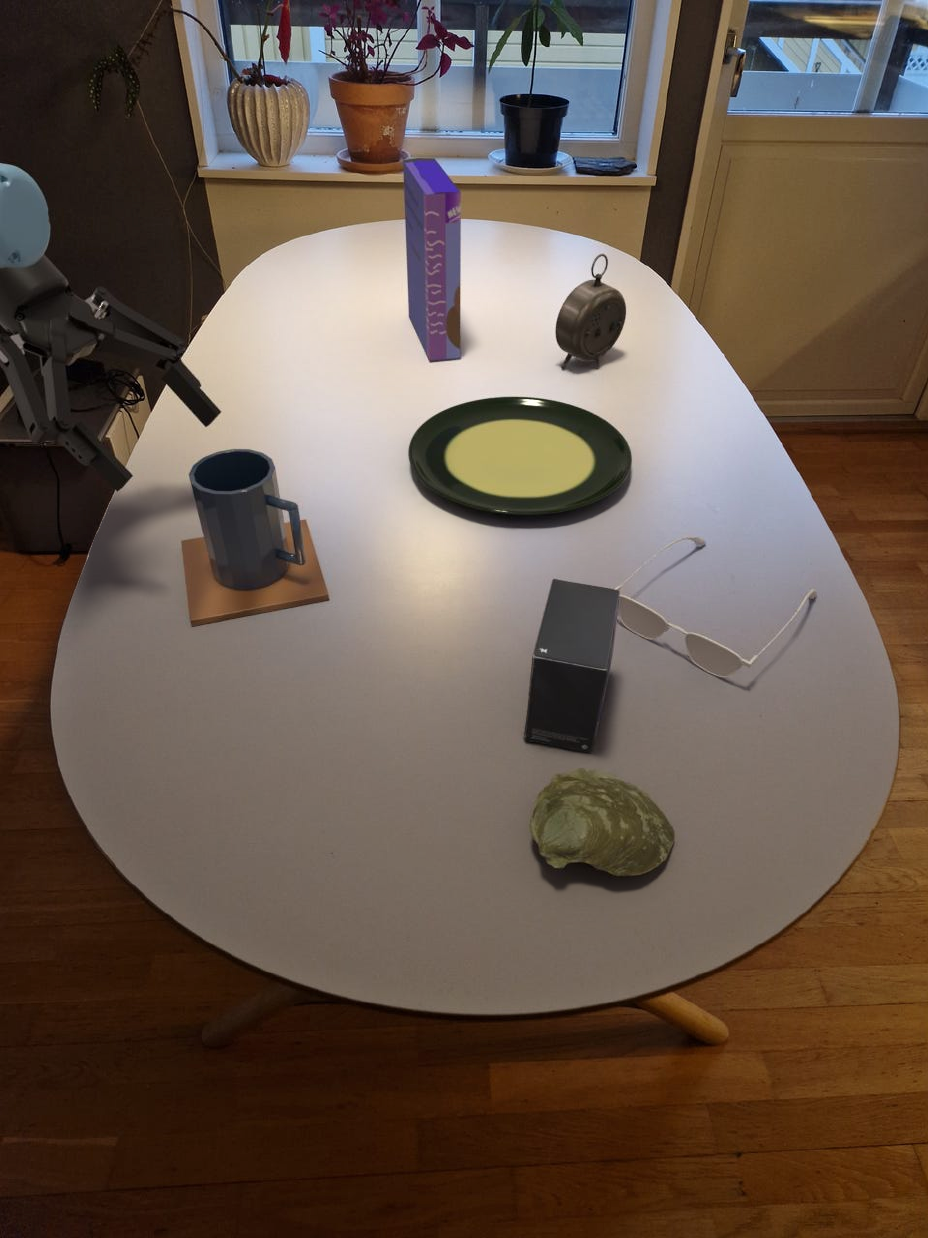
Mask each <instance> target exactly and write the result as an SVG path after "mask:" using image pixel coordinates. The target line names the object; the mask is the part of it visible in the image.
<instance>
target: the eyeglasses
mask: <svg viewBox="0 0 928 1238" xmlns="http://www.w3.org/2000/svg"><path fill="white" fill-rule="evenodd" d="M684 540H690V541H692V542H694V545H695V546H696V548H701V547H703V546H704V545H706V544H707V541H706V539H704V538H702V537H701V536H700V537H699V536H696V535H695V536H693V535H690V536H689V535H688V536H683V537H679V538H678V539H676V540H673V541H672V542H670V543H668V544H667V545H665V546H664V547H662V549H660V550H659V551H658V552H657V553H655V554H653V556H651V557H650V558H649V559H648V560H647V561H646V562H645V563H643V564H642V565H641V566H640V567H639V568H638V569H636V570H635V571H634V573H632V574H631V575H630V576H629V577H628V578H627V579H626V580H625V581H624V582H623V583H622V584H621V585H617V586H616V587H615V588H614V589H615V590H619V591H621V588H622V587H623V586H624V585H625V584H626V583H627V582H628V581H629V580H630V579H632V578H633V576H635V574H637V573H638V572H639V571H640V570H641V569H642V568H644V566H645V565H647V564H648V563H649V562H651V561H652V560H653V559H654V558H655V557H657V556H658V555H659V554H660V553H662V552H663V551H664V550H666V549H668V548H669V547H671V546H672V545H674V544H676V543H678V542H681V541H684ZM817 594H818V591H817V590H816V589H815V588H812V589H810V591H808V593H807V594H806V595H805V597H804V598H803V600H802V602H801V604H799V606H798V607H797V610H796V612H795V613H794V614H793V616H792V617H791V618H790V619H789V620H788V622H787V623H786V624H785V625H784V626H783V628H782V629H781V630H780V631H779V632H778V633H777V634H776V635H775V636H774V637H773V639H772V640H770V642H769V643H767V644H766V646H764V648H763V649H762V650H760V651H759V653H757V655H756V654H754V655H753V656H752V658H751V659H750V660H747V659H745V658H742V657H741V655H740V654H739V653H737V652H735V651H734V650H732V649H731V648H729V647H727V646H725V645H723V644H721V643H719V642H717V641H715V640H713V639H711V638H709V637H706V636H704V635H702V634H699V633H697V632H692V631H689V632H688V631H686V630H685V629H683V628H682V627H680V626H679V625H676V624H673V623H670V622H668V621H667V620H666V618H665V617H664V616H662V615H661V614H660V613H658V612H657V611H655V610H654V609H652V608H651V607H649V606H647V605H645V604H643V603H641V602H639V601H637V600H635V599H633V598H632V597H629V596H627V595H624V594H620V595H619V607H618V617H619V618H620V621H621V623H622V624H623V625H624V627H626V628H627V629H628V630H630V631H631V632H632V633H634V634H635V635H638V636H639V637H642V638H644V639H647V640H650V641H651V640H652V641H653V640H657V639H658V638H660V637H661V636H662V635H663V634H664V633H667V632H668V631H669V629H670V628H673V629H675V630H676V631H678V632H680V633H682V634H684V635H685V637H684V642H685V648H686V651H687V654H688V656H689V658H690V660H691V662H692V663H693V664H695V665H696V666H697V667H698V668H700V669H701V670H703V671H705V672H706V673H708V674H711V675H712V676H715V677H718V678H724V679H725V678H729V677H730V676H732V675H734V674H735V673H737V672H738V671H739V670H741V668H742V667H747V668H749V669H751V667H752V666H753V665H754V664H755V662H757V660H758V657H759V656H760V655H761V654H762V653H763V652H764V651H765V650H766V649H767V648H768V647H769V646H770V645H771V644H772V643H773V642H774V641H775V640H776V639H777V638H778V637H779V635H781V633H782V632H783V631H784V630H785V629H786V628H787V626H788V625H789V624H790V623H791V622H792V620H793V619H794V618H795V617H796V616H797V614H798V613H800V611H801V610H802V608H803V606H804V605H805V603H806V602H807V600H808V598H809V599H810V600H813V599H815V598H816V596H817Z"/></svg>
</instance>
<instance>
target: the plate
mask: <svg viewBox="0 0 928 1238" xmlns="http://www.w3.org/2000/svg"><path fill="white" fill-rule="evenodd" d="M407 455H408V461H409V464H410V467H411V468H412V470H413V472H414V474H415V476H416V477H417V479H418V480H419V482H420V483H421V484H422V485H423V486H425V487H426V488H427V489H429V490H430V491H432V492H434V493H435V494H437V495H439V496H441V497H443V498H445V499H447V500H448V499H449V500H450V501H452V502H454V503H458V504H460V505H463V506H465V507H468V508H473V509H475V510H476V509H477V510H480V511H485V512H489V513H497V514H502V515H503V514H505V515H517V516H518V515H519V516H528V515H529V516H530V515H531V516H534V515H548V514H550V515H551V514H557V513H563V512H568V511H572V510H576V509H580V508H583V507H586V506H588V505H592V504H594V503H596V502H599V501H601V500H602V499H604V498H605V497H607V496H609V495H610V494H612V493H613V492H615V491H616V490H617V489H618V488H620V486H622V485H623V483H624V482H625V481H626V480H627V478H628V476H629V474H630V471H631V468H632V464H633V455H632V451H631V447H630V445H629V442H628V441H627V439H626V437H625V436H624V435H623V434H622V433H621V432H620V431H619V430H618V429H617V428H616V427H615V426H613V425H612V423H610V422H609V421H607V420H606V419H604V418H603V417H601V416H599V415H598V414H596V413H594V412H591V411H589V410H587V409H584V408H582V407H579V406H577V405H573V404H570V403H567V402H562V401H558V400H554V399H547V398H541V397H533V396H495V397H487V398H481V399H475V400H471V401H466V402H463V403H459V404H456V405H452V406H451V407H448V408H445V409H444V410H441V411H439V412H438V413H436V414H434V415H432V416H431V417H430V418H428V419H427V420H425V421H424V422H423V423H422V424H421V425H420V426H419V427H418V428H417V429H416V431H415V432H414V433H413V435H412V437H411V439H410V441H409V445H408V449H407Z"/></svg>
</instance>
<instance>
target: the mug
mask: <svg viewBox="0 0 928 1238" xmlns="http://www.w3.org/2000/svg"><path fill="white" fill-rule="evenodd" d="M188 478H189V482H190V487H191V490H192V494H193V499H194V502H195V507H196V511H197V515H198V519H199V524H200V527H201V532H202V535H203V536H202V537H204V540H205V544H206V548H207V552H208V556H209V560H210V564H211V568H212V573H213V576H214V578H215V579H216V581H217V582H218V583H220V584H221V585H223V586H224V587H227V588H230V589H233V590H242V591H248V590H256V589H261V588H264V587H267V586H270V585H272V584H274V583H276V582H277V581H279V580H280V579H281V578H282V577H283V576H284V575H285V574H286V573H287V571H288V569H289V567H290V562H291V563H294V564H297V565H304V564H305V563H306V556H305V549H304V543H303V536H302V529H301V523H300V520H301V516H300V511H299V510H300V509H299V505H298V503H296V502H295V501H291V500H288V499H284V498H282V497H281V493H280V488H279V483H278V477H277V470H276V466H275V463H274V461H273V459H272V458H271V457H270V456H268V455H267V454H265V453H264V452H262V451H258V450H254V449H251V448H231V449H225V450H219V451H215V452H213V453H211V454H208V455H206V456H203V457H202V458H201V459H199V460H198V461H197V462H195V463H194V464H193V465H192V467H191V468H190V471H189V472H188ZM284 511H286V512H288V517H289V522H290V525H291V531H292V537H293V544H294V550H295V553H291V552H289V548H288V542H287V536H286V530H285V524H284V523H285V518H284Z"/></svg>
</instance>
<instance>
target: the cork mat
mask: <svg viewBox="0 0 928 1238" xmlns="http://www.w3.org/2000/svg"><path fill="white" fill-rule="evenodd" d="M300 523H301V529H302V536H303V543H304V549H305V556H306V563H305V564H304V565H297V564H294V563H291V562H290V567H289V569H288V571H287V573H286V574H285V575H284V576H283V577H282V578H281V579H280V580H279V581H277V582H276V583H274V584H272V585H270V586H267V587H264V588H261V589H256V590H248V591H242V590H233V589H230V588H227V587H224V586H223V585H221V584H220V583H218V582H217V581H216V579H215V578H214V576H213V573H212V568H211V564H210V560H209V556H208V552H207V548H206V544H205V540H204V536H200V537H195V538H187V539H181V540H180V543H181V544H180V545H181V553H182V554H181V555H182V561H183V570H184V579H185V588H186V597H187V607H188V615H189V623H190V626H191V627H196V626H202V625H207V624H212V623H217V622H222V621H227V620H232V619H238V618H243V617H249V616H253V615H258V614H264V613H269V612H274V611H280V610H285V609H289V608H295V607H300V606H304V605H310V604H316V603H320V602H326V601H330V597H329V596H330V595H329V591H328V588H327V584H326V582H325V578H324V575H323V572H322V568H321V564H320V562H319V558H318V555H317V551H316V547H315V545H314V541H313V539H312V534H311V532H310V528H309V525H308V522H307V519H306V518H305V519H300ZM284 524H285V530H286V536H287V542H288V548H289V552H291V553H295V550H294V544H293V537H292V531H291V525H290V521H287V522H284Z"/></svg>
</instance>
